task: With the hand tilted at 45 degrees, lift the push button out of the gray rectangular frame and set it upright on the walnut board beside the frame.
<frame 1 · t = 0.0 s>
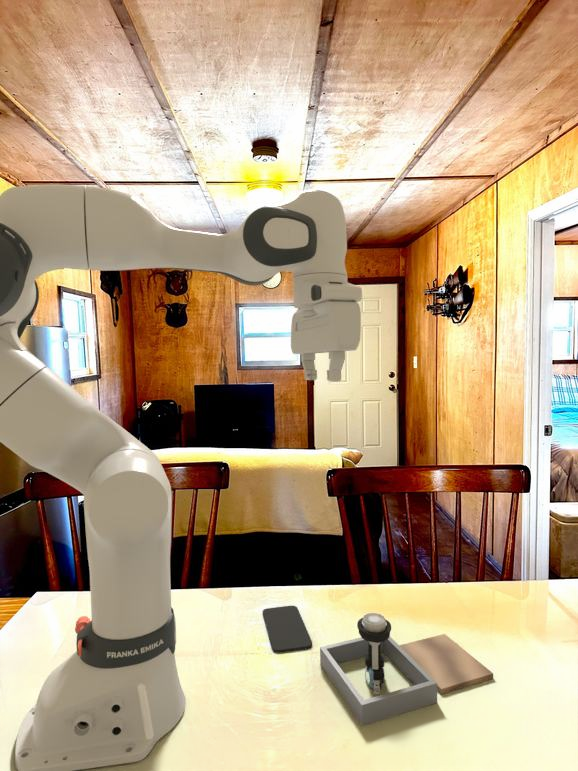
hand: (321, 380, 78), 48 cm above the table, tool pointing down, fingers open, 8 cm apart
phone: (285, 630, 91), on the table
gray rectangular frame: (375, 682, 75), on the table
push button: (375, 683, 75), on the table
walnut board: (443, 663, 80), on the table
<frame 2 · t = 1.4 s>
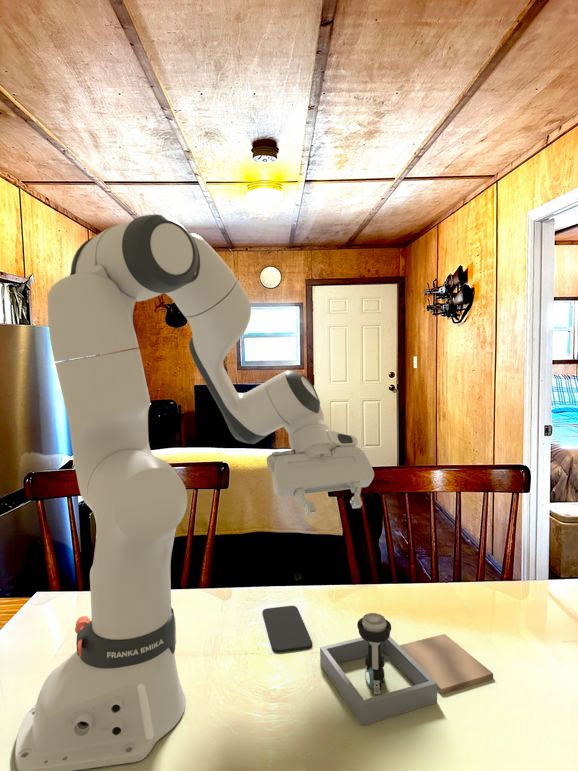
hand: (334, 510, 88), 24 cm above the table, tool tilted 45°, fingers open, 8 cm apart
nothing on the table moved.
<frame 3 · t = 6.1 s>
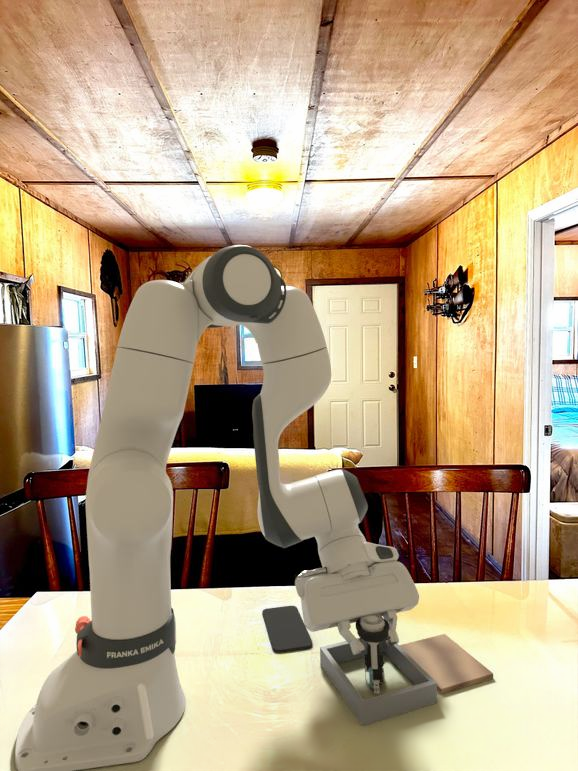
hand: (376, 648, 74), 6 cm above the table, tool tilted 45°, fingers closed on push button, 5 cm apart
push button: (375, 683, 75), on the table, touching gripper
everything else where it was.
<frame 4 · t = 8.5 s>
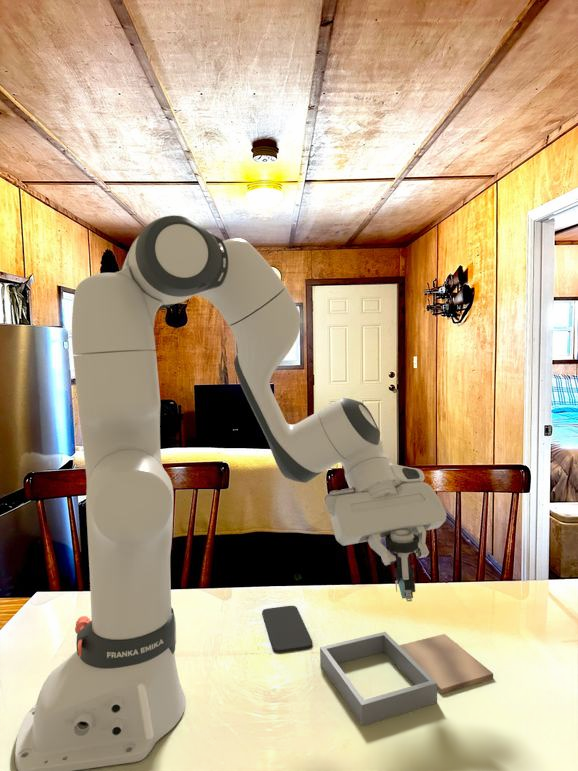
hand: (407, 559, 76), 19 cm above the table, tool tilted 45°, fingers closed on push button, 5 cm apart
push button: (406, 595, 77), point 13 cm above the table, touching gripper
everything else where it was.
when the fingers open (9 cm above the table, at t = 11.4 s): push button drops 1 cm, resting on walnut board.
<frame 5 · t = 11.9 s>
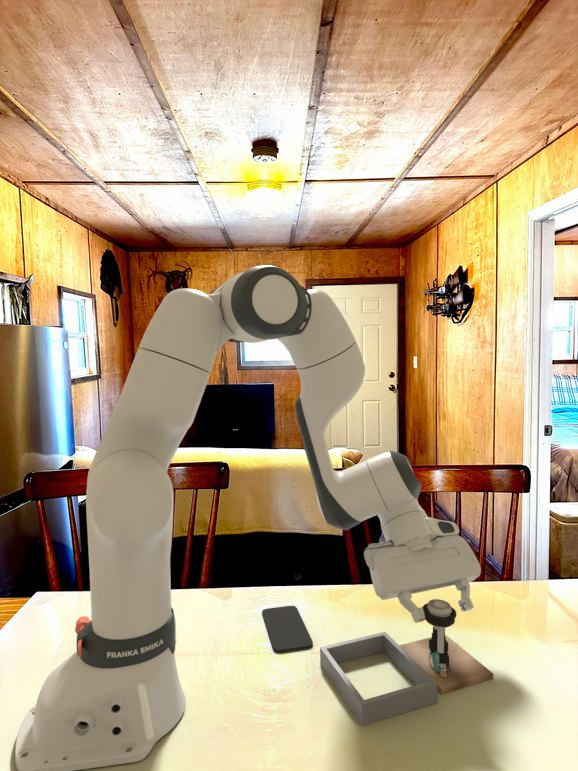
hand: (445, 615, 79), 9 cm above the table, tool tilted 45°, fingers open, 8 cm apart
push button: (438, 667, 78), point 1 cm above the table, touching gripper, walnut board
everything else where it was.
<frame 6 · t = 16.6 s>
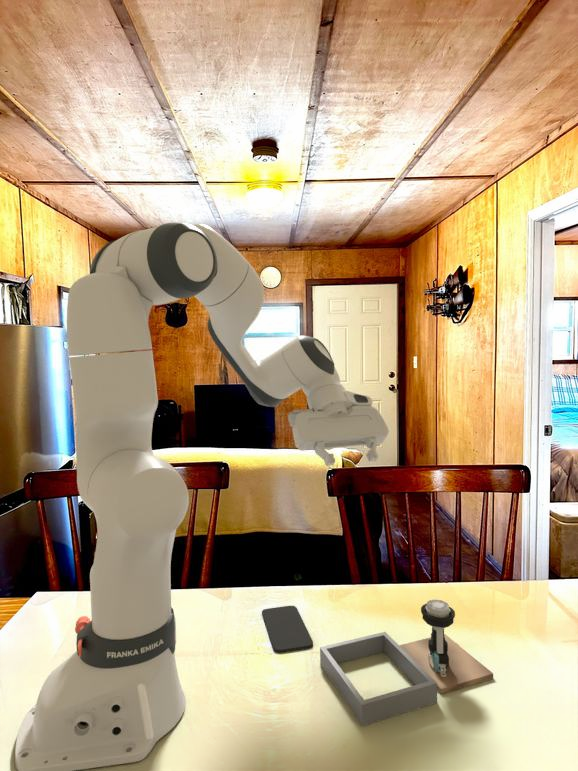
hand: (352, 461, 93), 31 cm above the table, tool tilted 45°, fingers open, 8 cm apart
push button: (439, 667, 78), point 1 cm above the table, touching walnut board
everything else where it was.
at the end: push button inside the target area on the walnut board (2.4 cm from its centre), point 0.6 cm above the walnut board's base; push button tilted 0°; the gripper is holding nothing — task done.
